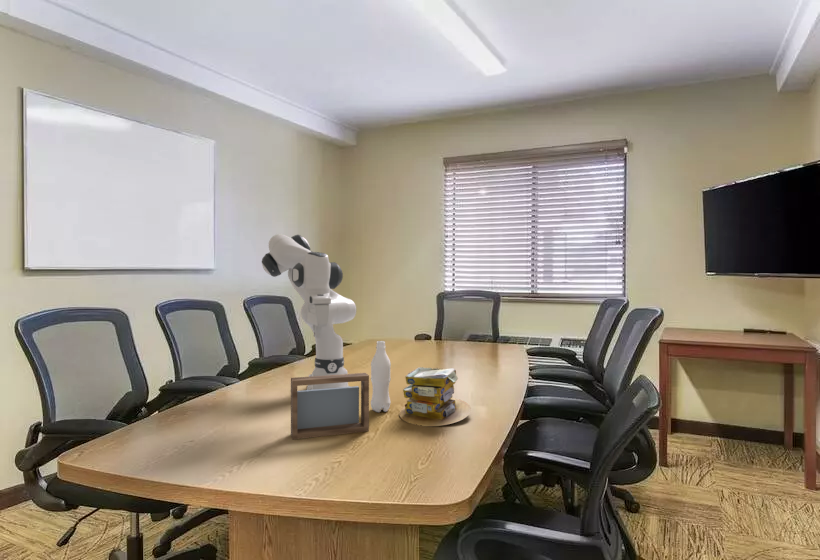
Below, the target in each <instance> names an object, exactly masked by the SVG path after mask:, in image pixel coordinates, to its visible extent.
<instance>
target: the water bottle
mask: <svg viewBox="0 0 820 560" xmlns="http://www.w3.org/2000/svg"><path fill="white" fill-rule="evenodd" d="M375 348H376V351H375V354H374V355H373V357H372V359H371V363H370V371H371V372H370V380H371V384H372V385H371V386H372V395H371V399H370V407H371V410H372V411H374V412H375V413H380V412H382V411H383V412H384V413H385V412H388V411H389V409H390V406H391V398H390V393H389V388H390V382H391V360H390V357H389V356H388V354H387V351H386V348H387V346H386V341H385V340H377V341H376V347H375Z"/></svg>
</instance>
